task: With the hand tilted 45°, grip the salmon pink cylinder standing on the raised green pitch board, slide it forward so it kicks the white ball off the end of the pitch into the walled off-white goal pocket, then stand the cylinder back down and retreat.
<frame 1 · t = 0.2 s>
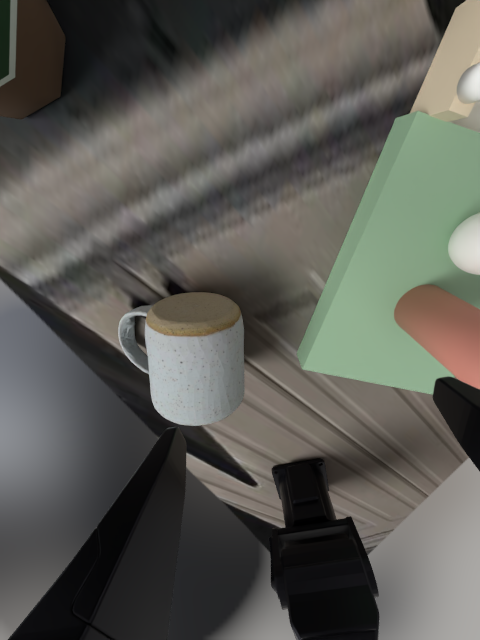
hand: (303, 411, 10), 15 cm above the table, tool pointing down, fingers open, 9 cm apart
beer bottle: (3, 40, 16), on the table
pitch: (413, 278, 23), on the table
salmon pink cylinder: (419, 308, 22), point 2 cm above the table, touching pitch
ceramic mug: (186, 331, 25), on the table
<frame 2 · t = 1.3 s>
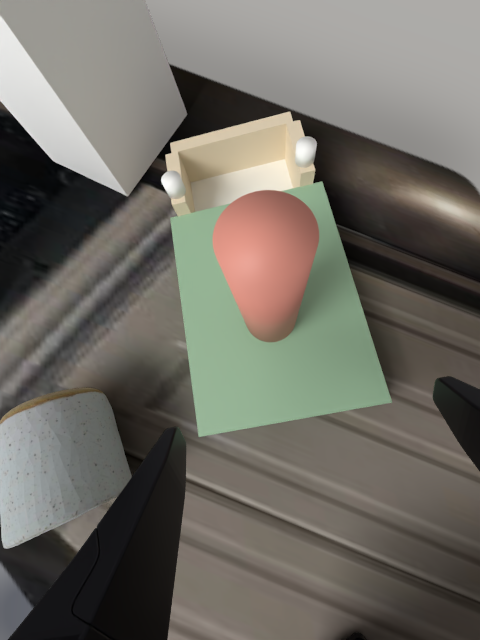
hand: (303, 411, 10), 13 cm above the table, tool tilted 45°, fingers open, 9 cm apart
pitch: (266, 306, 25), on the table
salmon pink cylinder: (270, 317, 22), point 2 cm above the table, touching pitch
goal: (241, 193, 28), on the table
ceramic mug: (85, 456, 24), on the table
milk: (120, 139, 32), on the table
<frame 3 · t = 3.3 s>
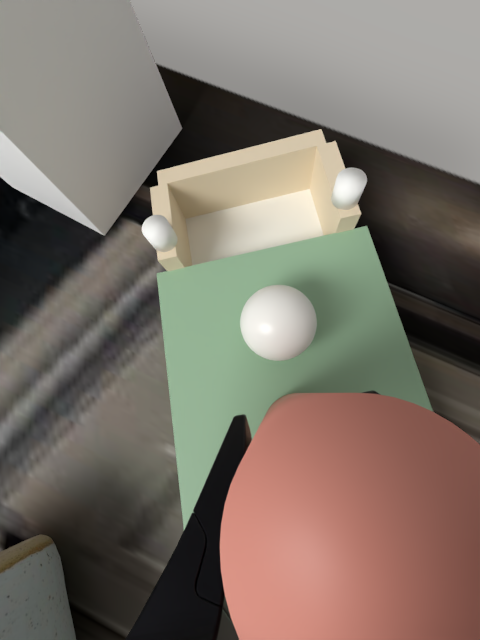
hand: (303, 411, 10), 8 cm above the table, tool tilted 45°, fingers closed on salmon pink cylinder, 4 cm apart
pitch: (290, 398, 18), on the table
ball: (277, 322, 15), point 4 cm above the table, touching pitch
salmon pink cylinder: (299, 431, 15), point 2 cm above the table, touching gripper, pitch
goal: (253, 234, 21), on the table
ceramic mug: (26, 620, 17), on the table
milk: (97, 160, 25), on the table
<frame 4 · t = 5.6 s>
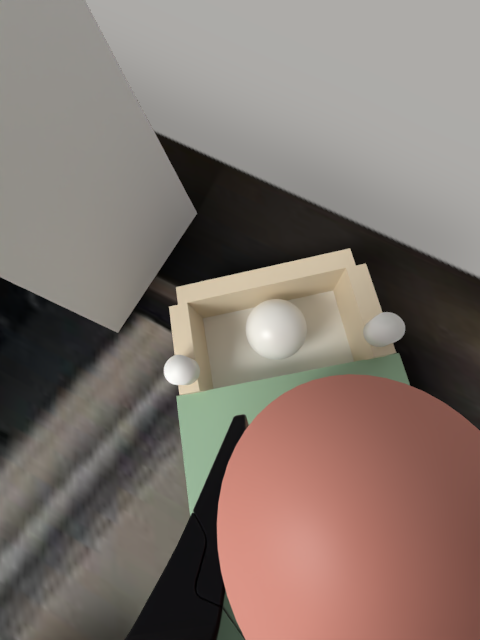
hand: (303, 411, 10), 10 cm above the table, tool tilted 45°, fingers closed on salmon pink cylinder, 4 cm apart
pitch: (317, 532, 17), on the table
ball: (275, 329, 18), point 2 cm above the table, tilted 96°, touching goal
salmon pink cylinder: (301, 440, 15), point 4 cm above the table, touching gripper
goal: (274, 340, 20), on the table
milk: (108, 244, 24), on the table
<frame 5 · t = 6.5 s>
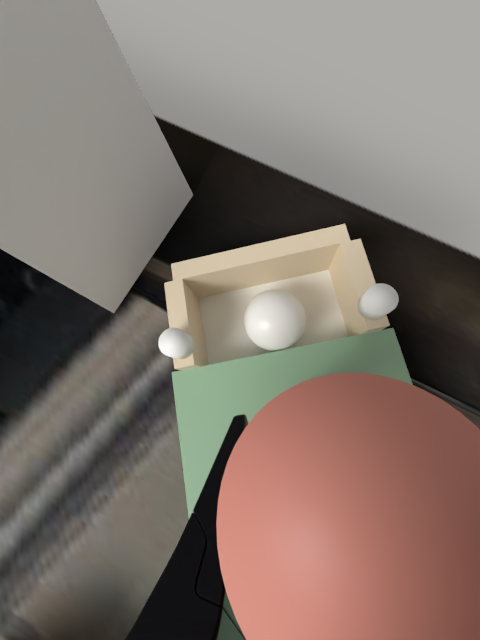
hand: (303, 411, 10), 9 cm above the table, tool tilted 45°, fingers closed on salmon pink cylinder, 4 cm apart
pitch: (312, 506, 17), on the table
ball: (274, 320, 18), point 2 cm above the table, tilted 124°, touching goal
salmon pink cylinder: (301, 440, 15), point 4 cm above the table, touching gripper
goal: (270, 319, 20), on the table
milk: (104, 226, 24), on the table
when the fingers open (8 cm above the table, at t = 7.5 s): salmon pink cylinder stays where it is, resting on pitch.
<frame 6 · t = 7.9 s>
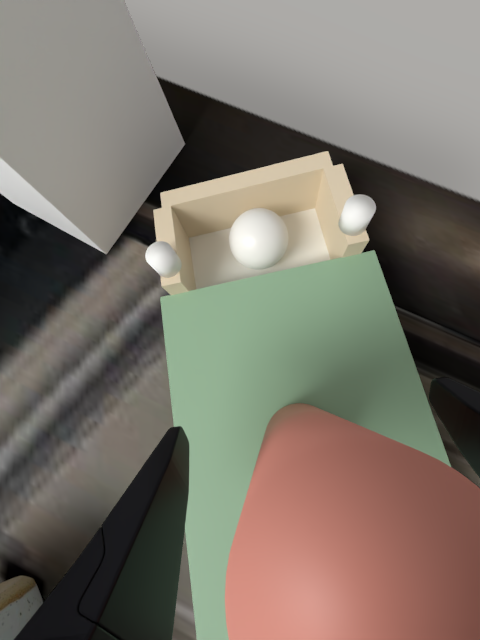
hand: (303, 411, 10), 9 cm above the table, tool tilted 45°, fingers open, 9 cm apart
pitch: (296, 425, 17), on the table
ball: (258, 239, 19), point 2 cm above the table, tilted 106°, touching goal
salmon pink cylinder: (301, 441, 15), point 2 cm above the table, touching pitch
goal: (257, 255, 21), on the table
milk: (99, 175, 25), on the table
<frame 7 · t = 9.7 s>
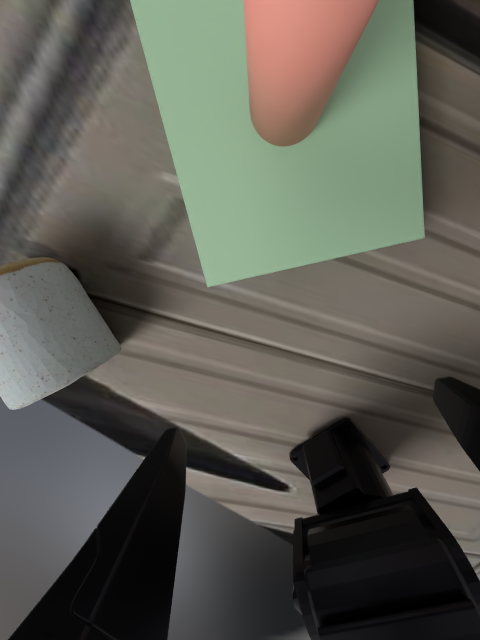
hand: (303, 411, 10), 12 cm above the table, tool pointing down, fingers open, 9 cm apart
pitch: (280, 112, 18), on the table
salmon pink cylinder: (285, 106, 15), point 2 cm above the table, touching pitch
ceramic mug: (65, 323, 23), on the table
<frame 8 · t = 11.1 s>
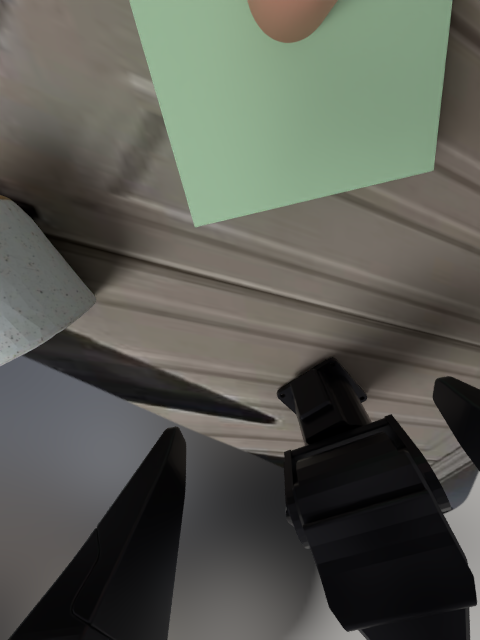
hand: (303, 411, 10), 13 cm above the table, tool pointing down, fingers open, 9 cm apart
ceramic mug: (26, 272, 20), on the table
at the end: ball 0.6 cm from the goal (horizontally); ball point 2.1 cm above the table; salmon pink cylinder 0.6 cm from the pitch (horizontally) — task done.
